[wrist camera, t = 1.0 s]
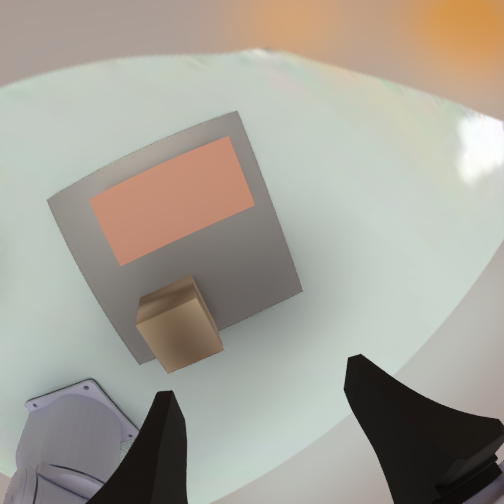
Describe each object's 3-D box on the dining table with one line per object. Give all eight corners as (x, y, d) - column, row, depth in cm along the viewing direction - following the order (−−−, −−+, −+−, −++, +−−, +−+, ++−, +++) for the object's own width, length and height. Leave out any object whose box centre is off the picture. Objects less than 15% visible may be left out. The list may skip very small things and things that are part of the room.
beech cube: (166, 341, 22) (167, 373, 18) (140, 297, 20) (135, 325, 17) (214, 320, 22) (224, 349, 19) (191, 274, 21) (196, 298, 17)
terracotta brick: (129, 247, 19) (120, 266, 16) (103, 192, 18) (88, 199, 14) (239, 197, 20) (255, 205, 17) (217, 141, 19) (228, 135, 15)
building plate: (139, 357, 23) (139, 364, 22) (51, 198, 18) (46, 199, 17) (297, 286, 24) (302, 290, 24) (234, 113, 20) (237, 110, 19)
